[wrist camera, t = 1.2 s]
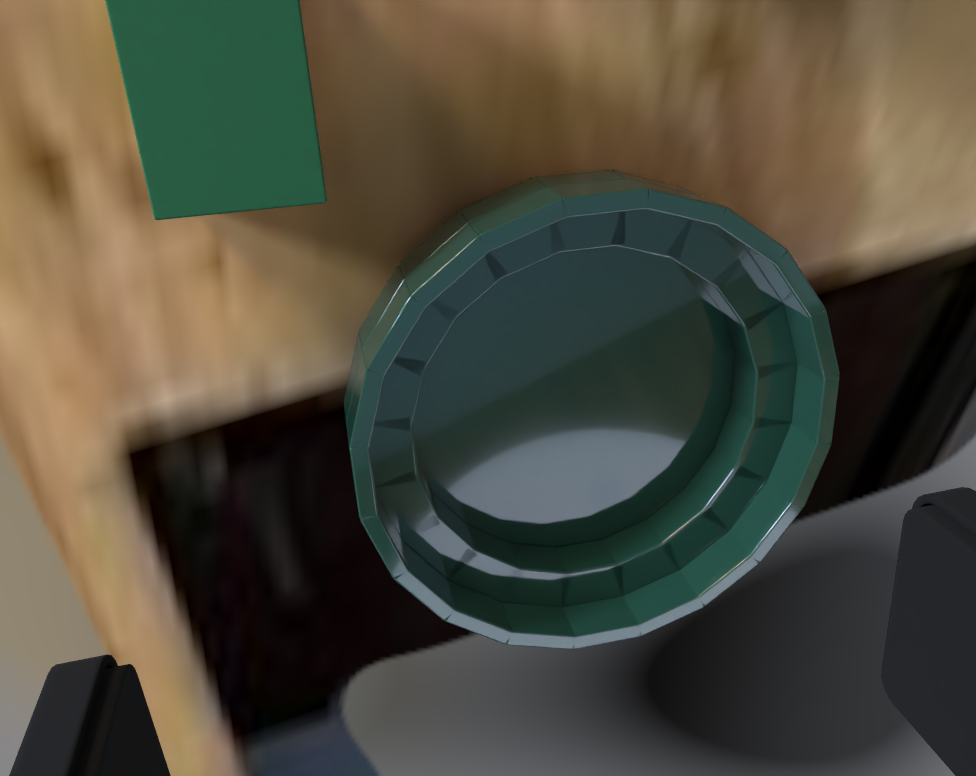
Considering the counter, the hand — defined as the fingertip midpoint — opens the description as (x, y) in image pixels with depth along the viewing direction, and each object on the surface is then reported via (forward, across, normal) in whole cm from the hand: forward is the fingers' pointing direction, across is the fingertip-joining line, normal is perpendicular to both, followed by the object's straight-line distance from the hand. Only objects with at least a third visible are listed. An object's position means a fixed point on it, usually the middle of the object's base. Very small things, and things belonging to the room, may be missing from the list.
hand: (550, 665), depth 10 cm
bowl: (+19, -6, +6) cm, 21 cm away
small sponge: (+19, +4, -6) cm, 21 cm away
